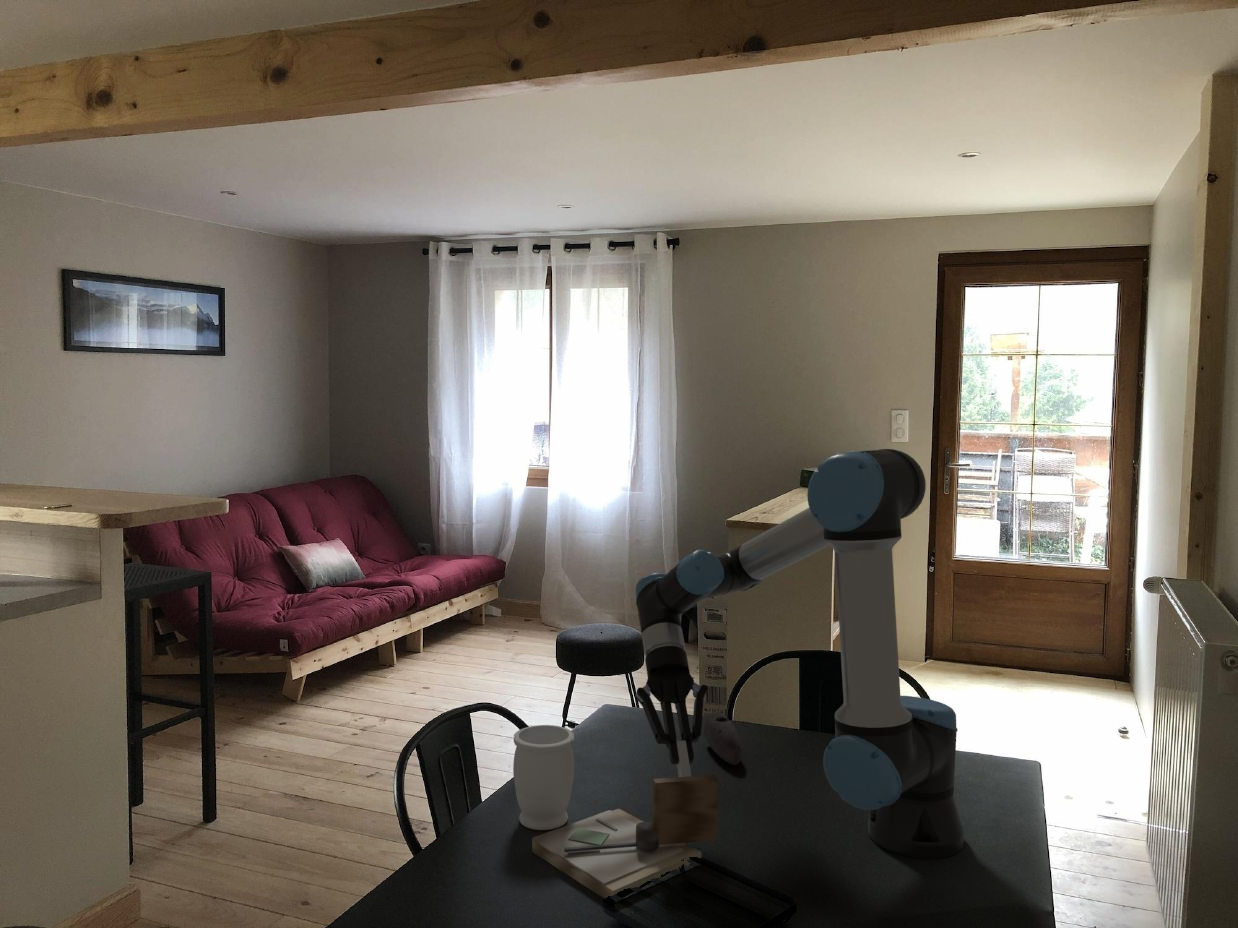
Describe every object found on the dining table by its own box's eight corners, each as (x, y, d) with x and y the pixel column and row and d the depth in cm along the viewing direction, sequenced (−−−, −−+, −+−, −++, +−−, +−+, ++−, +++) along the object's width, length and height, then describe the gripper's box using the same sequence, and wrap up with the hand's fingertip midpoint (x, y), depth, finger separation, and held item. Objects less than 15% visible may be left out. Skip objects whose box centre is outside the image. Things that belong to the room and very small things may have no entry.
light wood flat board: (701, 864, 149) (701, 848, 149) (612, 904, 137) (613, 887, 137) (618, 819, 164) (618, 805, 164) (532, 851, 152) (532, 836, 152)
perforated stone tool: (749, 770, 186) (750, 735, 185) (723, 772, 185) (724, 737, 184) (726, 742, 200) (726, 709, 200) (702, 743, 199) (702, 711, 199)
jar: (577, 832, 159) (577, 744, 158) (515, 836, 157) (515, 747, 156) (570, 804, 170) (570, 722, 168) (511, 808, 168) (511, 725, 167)
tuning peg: (712, 834, 153) (713, 772, 152) (718, 845, 149) (719, 781, 149) (563, 846, 149) (563, 781, 148) (566, 857, 145) (566, 791, 144)
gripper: (696, 662, 176) (719, 788, 161) (626, 665, 174) (643, 792, 159) (704, 642, 171) (729, 770, 156) (632, 644, 168) (650, 774, 153)
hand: (685, 781), depth 157 cm, fingers closed
